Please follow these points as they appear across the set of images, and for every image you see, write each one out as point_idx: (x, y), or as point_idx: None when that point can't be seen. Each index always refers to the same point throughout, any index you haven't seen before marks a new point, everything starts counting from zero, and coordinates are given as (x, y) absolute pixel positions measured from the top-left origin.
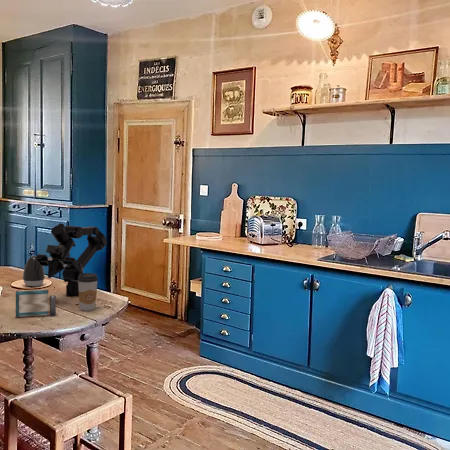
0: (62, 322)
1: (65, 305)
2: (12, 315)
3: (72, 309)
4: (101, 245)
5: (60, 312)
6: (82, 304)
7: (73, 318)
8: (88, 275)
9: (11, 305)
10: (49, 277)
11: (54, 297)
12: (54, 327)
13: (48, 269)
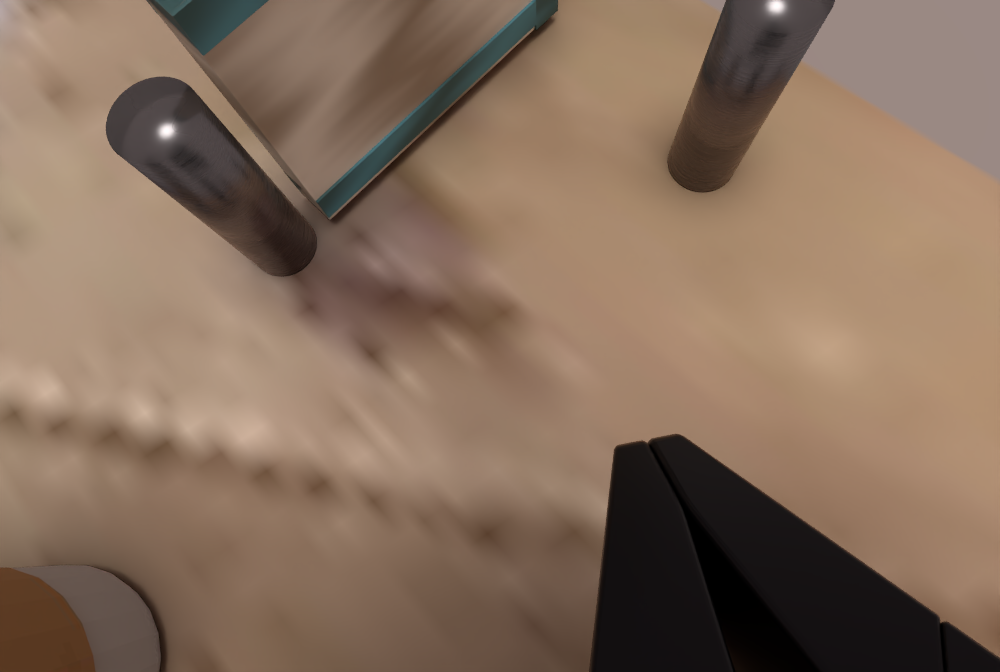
0: (58, 143)
1: (419, 632)
2: (619, 27)
3: (227, 537)
4: None
5: (276, 363)
6: (14, 568)
7: (28, 286)
8: None
9: (962, 242)
10: (616, 460)
11: (119, 120)
12: (45, 19)
13: (947, 630)
